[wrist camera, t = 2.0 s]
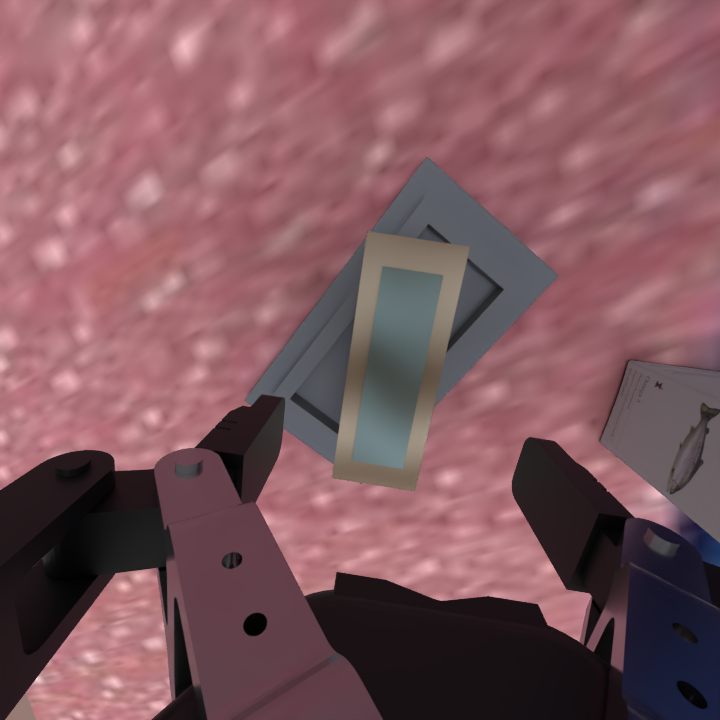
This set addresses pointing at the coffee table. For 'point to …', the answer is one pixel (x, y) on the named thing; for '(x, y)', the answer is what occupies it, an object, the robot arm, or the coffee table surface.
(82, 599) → the robot arm
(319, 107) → the coffee table surface
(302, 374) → the grey rectangular framed panel
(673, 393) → the supplement box
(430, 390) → the oak frame
